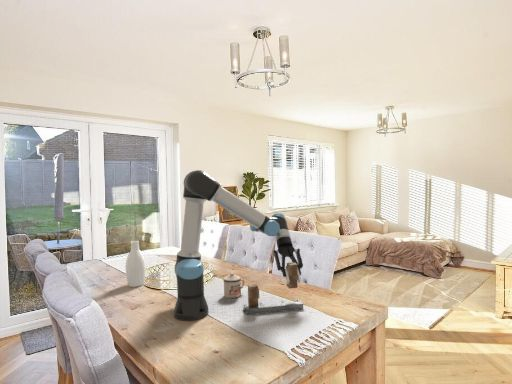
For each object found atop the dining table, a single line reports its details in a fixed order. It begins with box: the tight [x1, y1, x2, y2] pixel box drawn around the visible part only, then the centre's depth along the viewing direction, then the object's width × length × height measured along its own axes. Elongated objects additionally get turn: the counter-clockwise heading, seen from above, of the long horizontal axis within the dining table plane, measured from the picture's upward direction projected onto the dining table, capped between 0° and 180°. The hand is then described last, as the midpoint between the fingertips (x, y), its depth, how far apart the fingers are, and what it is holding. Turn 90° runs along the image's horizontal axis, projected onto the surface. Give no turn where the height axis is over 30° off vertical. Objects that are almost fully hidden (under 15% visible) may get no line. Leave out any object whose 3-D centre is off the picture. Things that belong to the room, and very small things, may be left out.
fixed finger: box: [247, 283, 260, 306], centre depth 153 cm, size 5×4×11 cm
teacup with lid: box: [222, 272, 245, 299], centre depth 173 cm, size 12×9×12 cm
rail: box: [243, 298, 304, 315], centre depth 153 cm, size 27×7×2 cm, turn 100°
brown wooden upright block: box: [285, 262, 298, 289], centre depth 156 cm, size 5×4×11 cm
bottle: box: [125, 240, 147, 288], centre depth 195 cm, size 11×11×25 cm
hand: (294, 282), depth 153 cm, fingers closed on brown wooden upright block, 5 cm apart
